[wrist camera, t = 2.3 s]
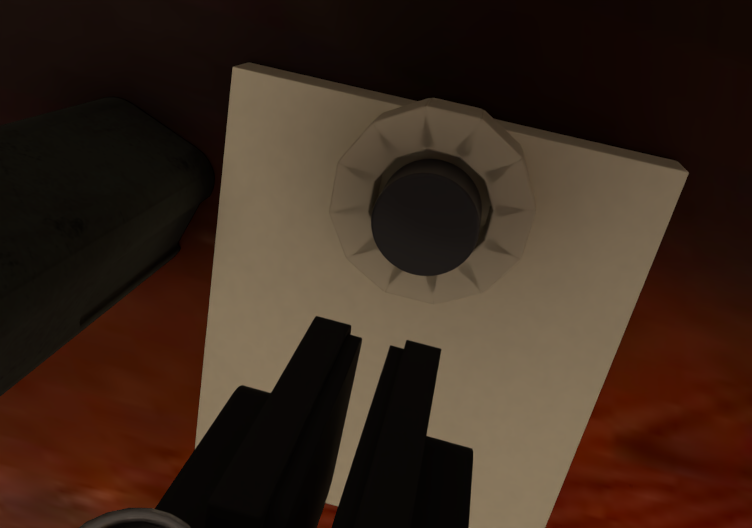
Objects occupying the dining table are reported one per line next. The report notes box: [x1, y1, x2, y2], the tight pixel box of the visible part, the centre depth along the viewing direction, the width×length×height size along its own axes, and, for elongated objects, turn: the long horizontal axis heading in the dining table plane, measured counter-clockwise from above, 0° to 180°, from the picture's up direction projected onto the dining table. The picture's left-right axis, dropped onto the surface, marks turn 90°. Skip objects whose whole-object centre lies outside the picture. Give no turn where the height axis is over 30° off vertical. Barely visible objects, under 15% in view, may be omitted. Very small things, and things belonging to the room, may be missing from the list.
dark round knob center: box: [371, 159, 482, 276], centre depth 19 cm, size 3×3×2 cm
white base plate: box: [195, 62, 689, 528], centre depth 23 cm, size 16×14×3 cm
